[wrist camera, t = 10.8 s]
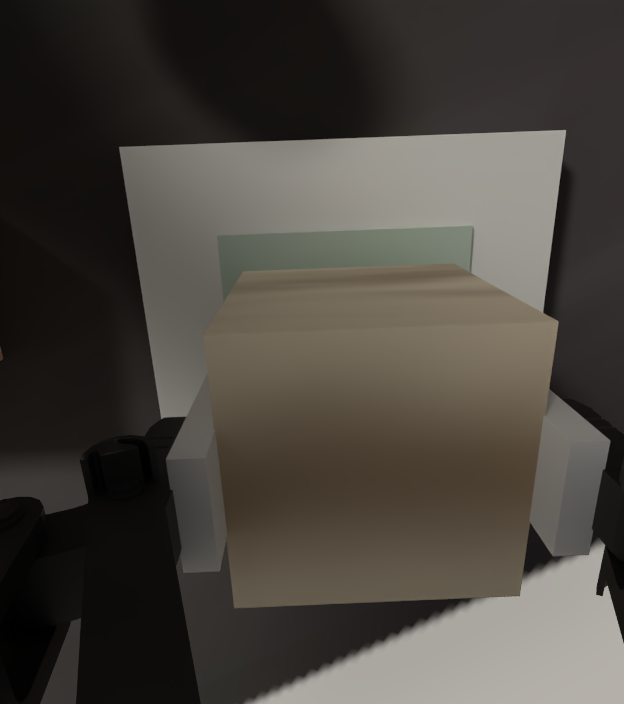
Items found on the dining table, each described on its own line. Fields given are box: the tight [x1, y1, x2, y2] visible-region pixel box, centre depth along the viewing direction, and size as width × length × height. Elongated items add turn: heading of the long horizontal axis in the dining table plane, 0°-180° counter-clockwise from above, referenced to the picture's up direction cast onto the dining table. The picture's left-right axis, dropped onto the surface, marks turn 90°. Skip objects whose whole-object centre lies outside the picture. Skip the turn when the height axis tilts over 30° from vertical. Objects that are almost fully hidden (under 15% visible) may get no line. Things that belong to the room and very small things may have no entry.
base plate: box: [119, 130, 566, 419], centre depth 20 cm, size 15×15×2 cm
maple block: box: [203, 264, 559, 608], centre depth 14 cm, size 7×7×7 cm
